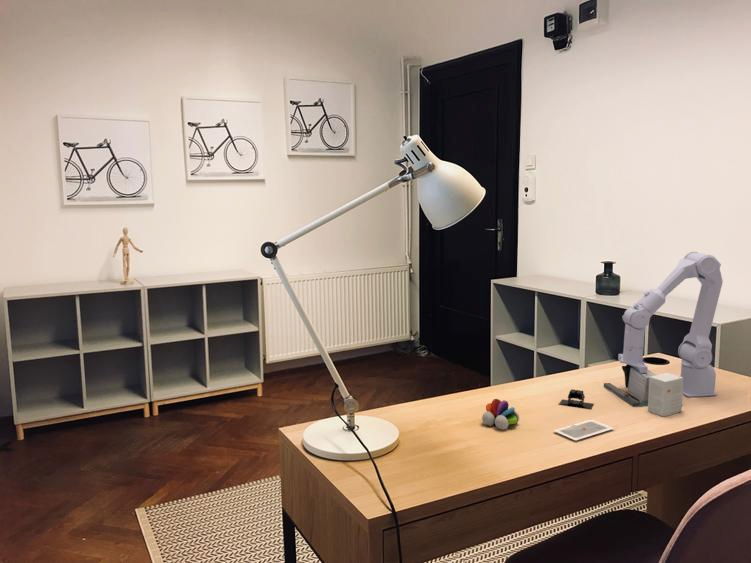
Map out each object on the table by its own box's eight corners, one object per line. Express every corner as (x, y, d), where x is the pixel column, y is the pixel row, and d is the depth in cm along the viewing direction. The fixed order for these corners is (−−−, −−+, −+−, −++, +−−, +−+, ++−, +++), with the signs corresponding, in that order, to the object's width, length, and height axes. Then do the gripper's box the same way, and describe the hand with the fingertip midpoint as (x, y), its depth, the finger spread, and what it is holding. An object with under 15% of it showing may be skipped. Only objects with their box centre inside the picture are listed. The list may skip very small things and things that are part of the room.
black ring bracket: (552, 406, 195) (552, 392, 194) (557, 399, 201) (558, 385, 200) (595, 412, 189) (595, 397, 188) (599, 405, 195) (600, 390, 195)
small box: (665, 406, 192) (667, 372, 190) (682, 412, 187) (684, 377, 185) (646, 411, 188) (648, 376, 187) (663, 417, 183) (665, 381, 182)
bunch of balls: (495, 416, 186) (495, 392, 185) (524, 425, 180) (524, 400, 178) (477, 424, 181) (477, 399, 179) (506, 433, 174) (507, 407, 173)
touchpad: (614, 432, 174) (614, 424, 174) (575, 444, 167) (575, 436, 167) (591, 422, 181) (591, 415, 181) (552, 434, 174) (553, 426, 173)
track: (635, 385, 212) (635, 381, 211) (667, 404, 193) (667, 401, 193) (603, 386, 210) (603, 383, 210) (633, 406, 192) (633, 403, 192)
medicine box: (655, 402, 195) (659, 376, 193) (642, 404, 194) (646, 377, 192) (638, 391, 203) (642, 365, 200) (626, 392, 201) (630, 366, 199)
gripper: (610, 340, 207) (607, 381, 209) (633, 352, 193) (629, 396, 195) (631, 340, 208) (628, 380, 210) (655, 352, 194) (651, 395, 196)
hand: (630, 388), depth 203 cm, fingers closed, pressing on medicine box
